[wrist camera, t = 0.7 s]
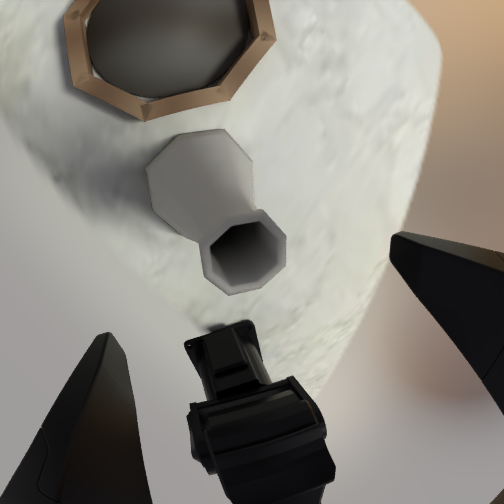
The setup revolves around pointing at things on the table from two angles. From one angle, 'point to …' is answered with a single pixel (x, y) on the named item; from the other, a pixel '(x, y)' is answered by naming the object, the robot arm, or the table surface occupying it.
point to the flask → (217, 209)
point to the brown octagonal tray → (165, 50)
